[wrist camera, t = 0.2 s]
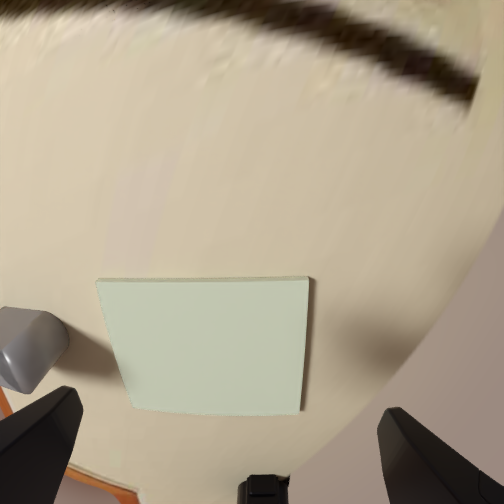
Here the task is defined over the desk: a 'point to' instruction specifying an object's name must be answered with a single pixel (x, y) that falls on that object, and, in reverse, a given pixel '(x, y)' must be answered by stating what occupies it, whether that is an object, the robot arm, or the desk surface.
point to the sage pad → (209, 343)
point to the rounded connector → (28, 347)
